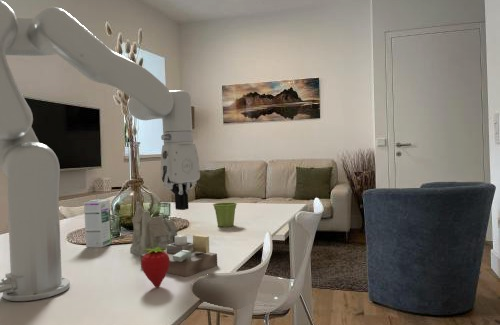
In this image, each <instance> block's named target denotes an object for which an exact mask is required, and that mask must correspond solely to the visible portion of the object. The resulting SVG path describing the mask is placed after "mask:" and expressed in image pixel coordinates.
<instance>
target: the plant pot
mask: <svg viewBox="0 0 500 325" xmlns="http://www.w3.org/2000/svg"><path fill="white" fill-rule="evenodd" d="M237 205H238V203H237V202H231V201H230V202H217V203H216V202H215V203H212V206H213V208H214V212H215V216H216V223H217V227H220V228H222V227H224V228H228V227H229V228H230V227H233V226H234V225H235V224H234V222H235V212H236V208H237Z"/></svg>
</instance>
